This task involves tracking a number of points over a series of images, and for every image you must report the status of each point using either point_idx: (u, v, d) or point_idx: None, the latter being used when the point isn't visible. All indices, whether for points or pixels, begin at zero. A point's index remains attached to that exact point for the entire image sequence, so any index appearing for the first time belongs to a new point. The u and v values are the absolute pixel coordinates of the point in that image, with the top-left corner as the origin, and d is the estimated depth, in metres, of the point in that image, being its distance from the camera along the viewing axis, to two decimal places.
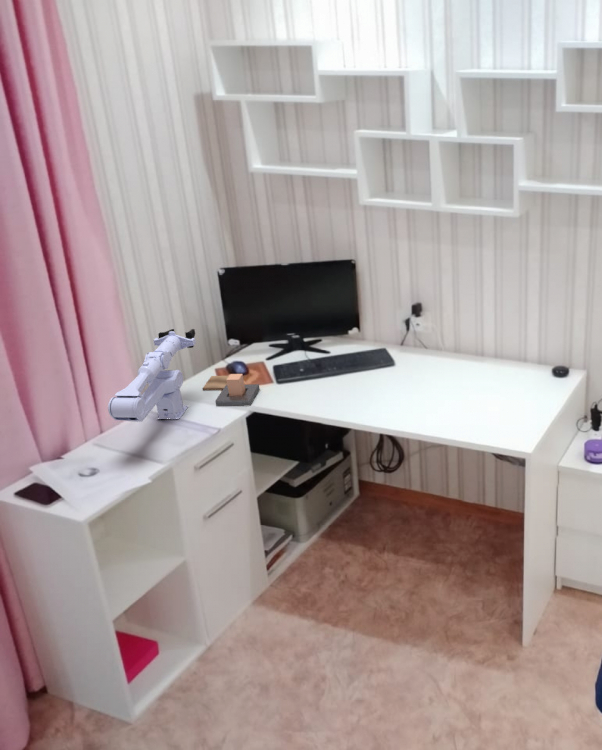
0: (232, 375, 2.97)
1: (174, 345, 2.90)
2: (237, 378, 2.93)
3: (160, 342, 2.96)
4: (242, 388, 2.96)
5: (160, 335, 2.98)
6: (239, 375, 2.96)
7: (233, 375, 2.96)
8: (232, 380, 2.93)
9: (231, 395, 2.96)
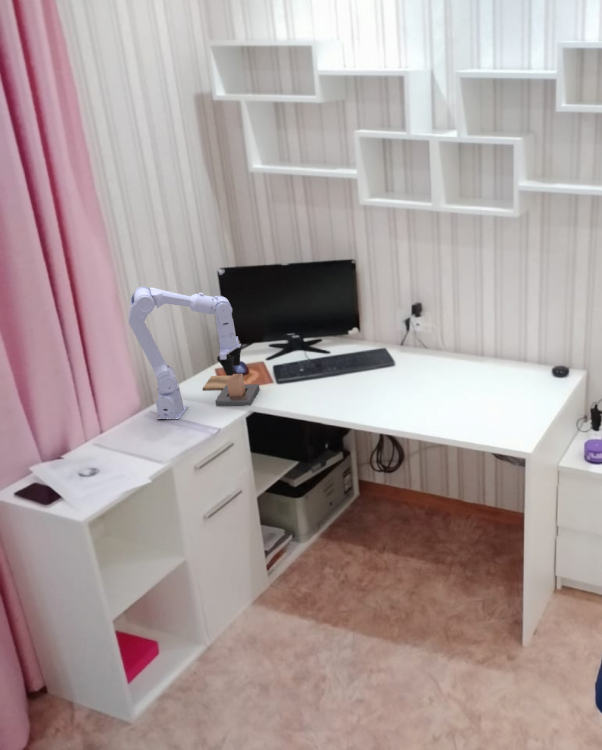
0: (232, 375, 2.97)
1: (227, 335, 2.86)
2: (237, 378, 2.93)
3: None
4: (242, 388, 2.96)
5: (239, 344, 2.95)
6: (239, 375, 2.96)
7: (233, 375, 2.96)
8: (232, 380, 2.93)
9: (231, 395, 2.96)
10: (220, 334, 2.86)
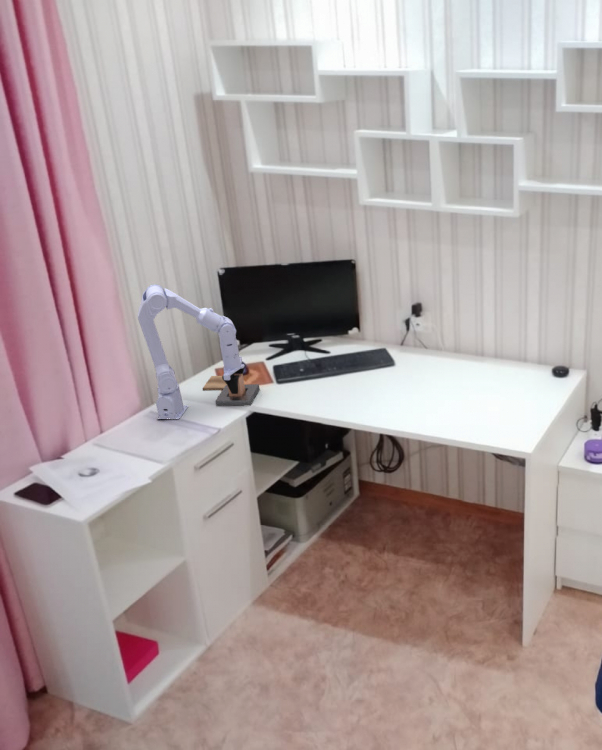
0: None
1: (231, 356, 2.89)
2: None
3: None
4: (242, 388, 2.96)
5: None
6: (239, 375, 2.96)
7: None
8: None
9: (231, 395, 2.96)
10: (224, 355, 2.89)
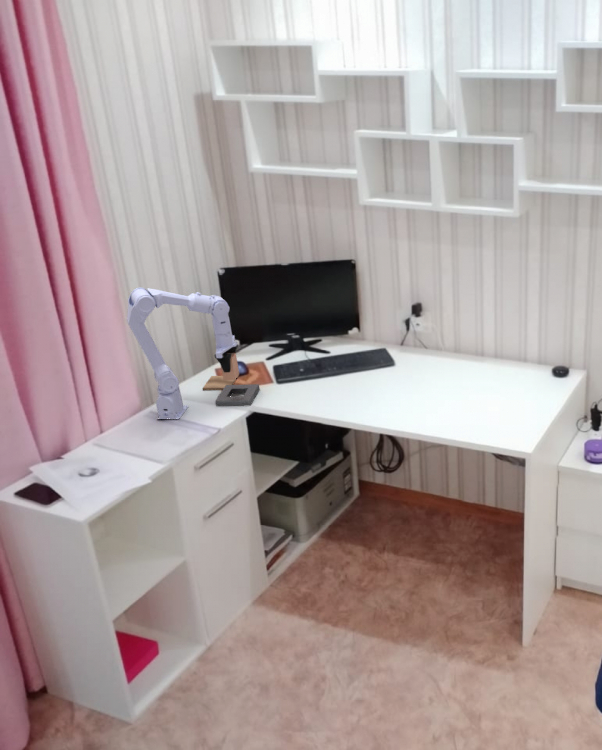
0: None
1: (223, 334, 2.89)
2: None
3: None
4: (235, 367, 2.96)
5: None
6: (232, 354, 2.95)
7: None
8: None
9: (224, 374, 2.96)
10: (217, 333, 2.89)
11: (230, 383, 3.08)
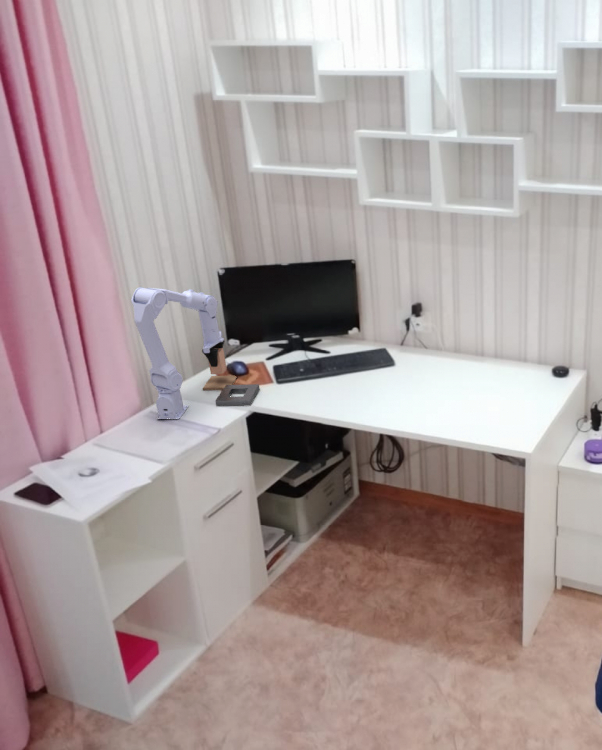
0: None
1: (210, 330, 2.99)
2: None
3: None
4: (222, 362, 3.06)
5: None
6: (219, 349, 3.06)
7: None
8: None
9: (211, 368, 3.06)
10: (208, 329, 2.99)
11: (230, 383, 3.08)
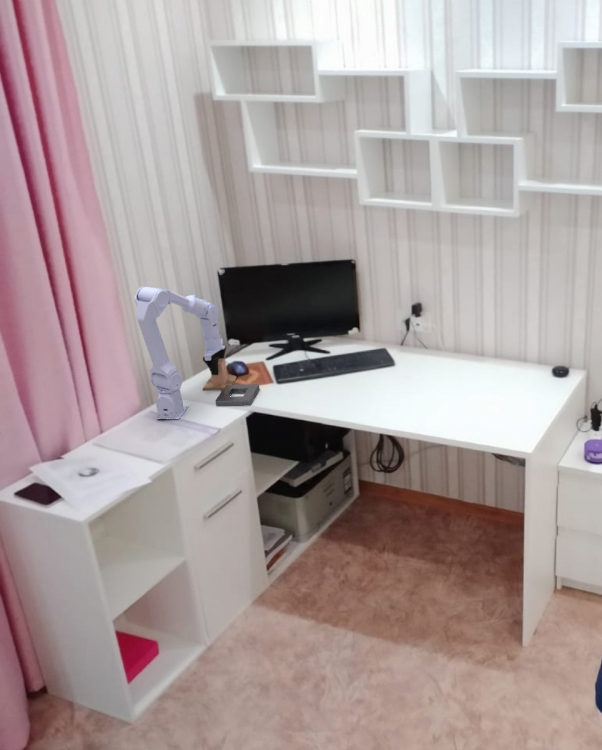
0: None
1: (212, 337, 3.00)
2: (219, 363, 3.05)
3: None
4: (225, 372, 3.08)
5: None
6: (221, 360, 3.08)
7: None
8: None
9: (214, 379, 3.08)
10: (210, 336, 3.00)
11: (230, 383, 3.08)
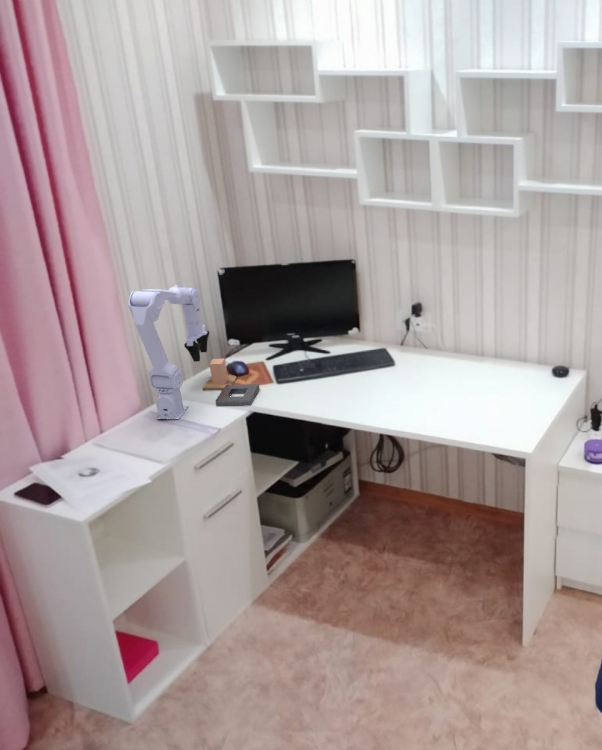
0: (215, 359, 3.08)
1: (194, 323, 3.01)
2: (219, 363, 3.05)
3: None
4: (225, 372, 3.08)
5: (206, 331, 3.10)
6: (221, 360, 3.08)
7: (216, 360, 3.08)
8: (214, 364, 3.05)
9: (214, 379, 3.08)
10: (194, 321, 3.00)
11: (230, 383, 3.08)
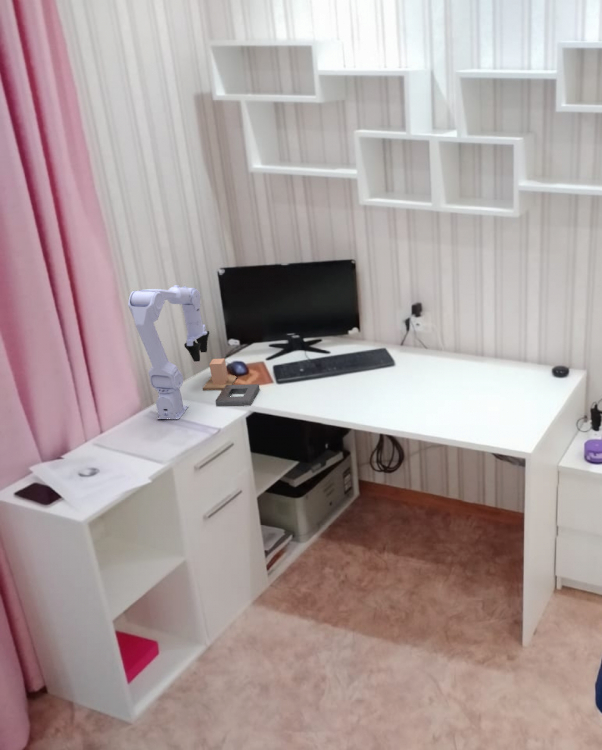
0: (215, 359, 3.08)
1: (194, 323, 3.01)
2: (219, 363, 3.05)
3: None
4: (225, 372, 3.08)
5: (206, 331, 3.10)
6: (221, 360, 3.08)
7: (216, 360, 3.08)
8: (214, 364, 3.05)
9: (214, 379, 3.08)
10: (194, 321, 3.00)
11: (230, 383, 3.08)
